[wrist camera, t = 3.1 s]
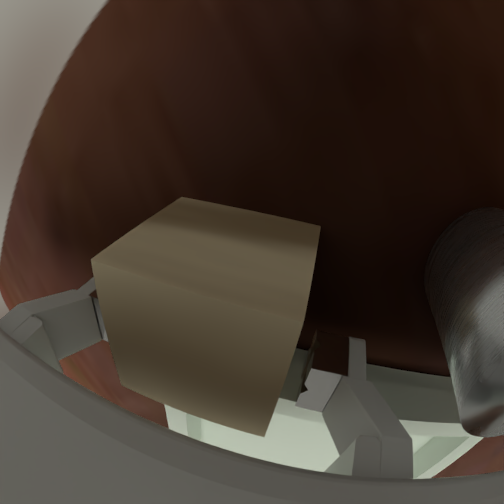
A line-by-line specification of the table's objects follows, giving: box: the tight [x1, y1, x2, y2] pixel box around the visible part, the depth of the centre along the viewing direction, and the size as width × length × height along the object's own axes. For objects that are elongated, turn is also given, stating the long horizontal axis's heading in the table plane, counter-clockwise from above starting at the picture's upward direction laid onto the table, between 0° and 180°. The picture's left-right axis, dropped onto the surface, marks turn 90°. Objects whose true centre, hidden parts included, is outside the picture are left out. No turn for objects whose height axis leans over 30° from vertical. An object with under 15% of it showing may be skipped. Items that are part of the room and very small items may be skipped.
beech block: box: [91, 197, 321, 437], centre depth 8 cm, size 4×4×4 cm
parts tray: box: [165, 348, 484, 479], centre depth 14 cm, size 16×14×2 cm
